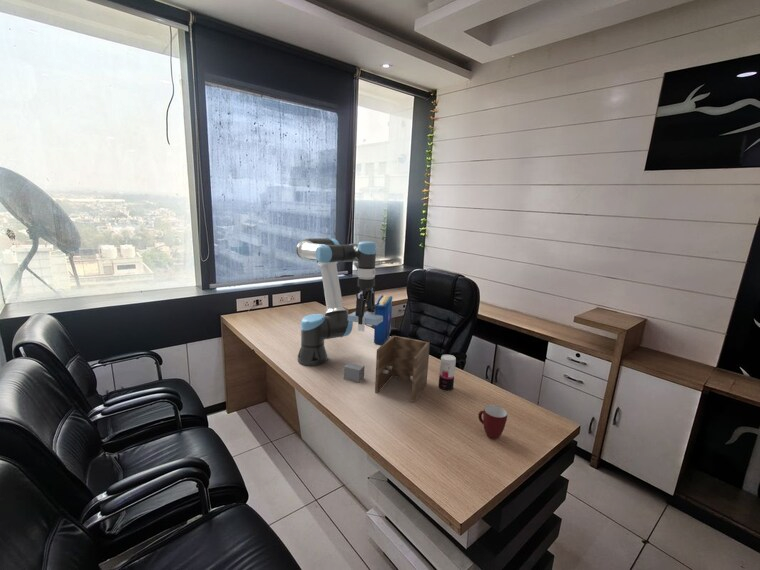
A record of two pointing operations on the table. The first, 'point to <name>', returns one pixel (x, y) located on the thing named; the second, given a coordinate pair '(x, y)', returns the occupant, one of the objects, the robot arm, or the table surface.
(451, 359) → the beverage can
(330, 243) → the robot arm
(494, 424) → the mug
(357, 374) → the riser block
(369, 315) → the shelf board
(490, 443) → the table surface
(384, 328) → the book
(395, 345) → the bookcase frame
